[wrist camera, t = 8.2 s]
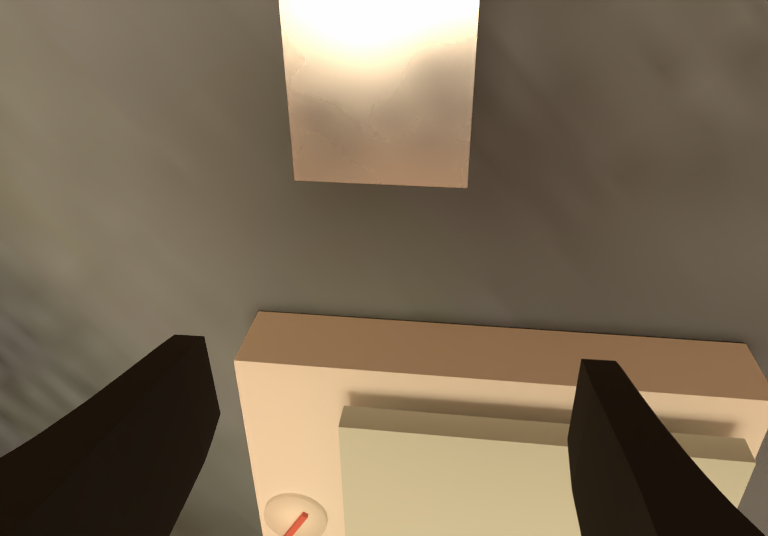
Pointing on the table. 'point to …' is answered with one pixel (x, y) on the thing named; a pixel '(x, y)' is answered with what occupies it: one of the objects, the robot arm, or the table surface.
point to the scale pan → (481, 474)
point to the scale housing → (452, 392)
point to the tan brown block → (380, 89)
